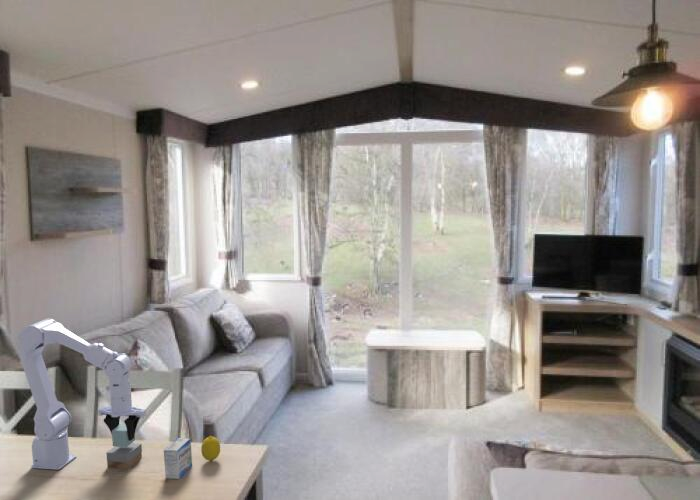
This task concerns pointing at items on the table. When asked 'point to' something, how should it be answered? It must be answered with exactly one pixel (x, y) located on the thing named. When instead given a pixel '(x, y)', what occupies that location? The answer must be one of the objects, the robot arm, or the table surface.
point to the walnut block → (124, 465)
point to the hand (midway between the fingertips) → (123, 438)
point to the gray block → (124, 453)
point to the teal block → (121, 436)
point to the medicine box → (178, 458)
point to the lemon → (210, 448)
